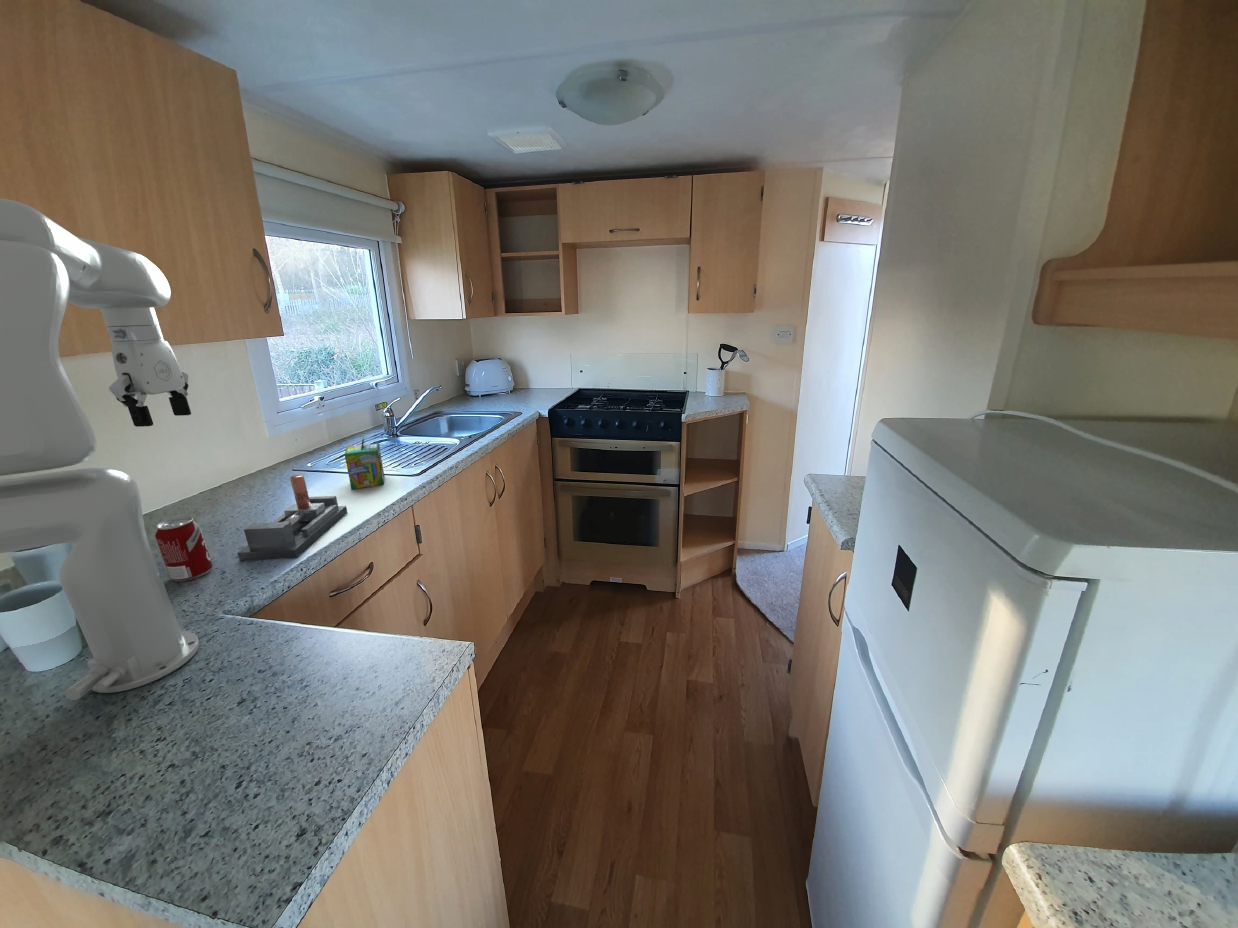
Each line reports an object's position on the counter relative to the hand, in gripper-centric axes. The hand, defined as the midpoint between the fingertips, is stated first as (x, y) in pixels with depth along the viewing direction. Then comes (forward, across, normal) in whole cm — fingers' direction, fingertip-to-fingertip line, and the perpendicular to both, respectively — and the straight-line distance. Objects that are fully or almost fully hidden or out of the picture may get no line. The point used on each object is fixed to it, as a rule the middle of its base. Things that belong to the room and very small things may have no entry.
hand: (164, 420), depth 100 cm
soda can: (+31, -11, -5) cm, 33 cm away
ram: (+28, +7, -17) cm, 34 cm away
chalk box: (+31, +41, -19) cm, 55 cm away
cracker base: (+30, +6, -17) cm, 35 cm away
